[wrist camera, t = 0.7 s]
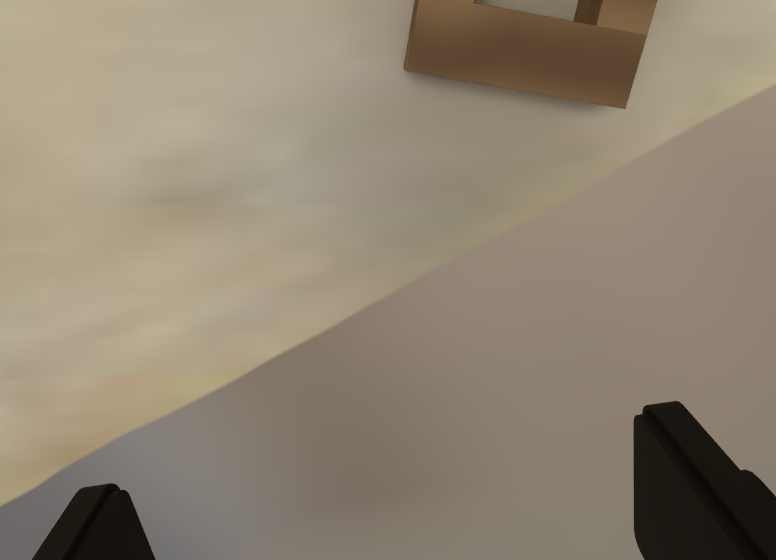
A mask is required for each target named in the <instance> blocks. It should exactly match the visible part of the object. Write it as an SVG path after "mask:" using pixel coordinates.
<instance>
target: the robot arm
mask: <svg viewBox="0 0 776 560" xmlns="http://www.w3.org/2000/svg"><path fill="white" fill-rule="evenodd" d="M634 533H635V538H636V542H637V544H638V547H639V550H640V552H641V554H642V555H643V557H644V559H645V560H776V497H775V495H774V494H773V493H772V492H771V491H770V490H769V489H768V488H767V486H766V485H765V484H764V483H763V482H762V481H761V480H760V479H759V478H758V477H757V476H756V475H755V474H753V473H752V472H750V471H748V470H740V469H739V468H738V467H737V466H736V465H735V464H734V463H733V461H732V460H731V459H730V458H729V457H728V456H727V455H726V453H725V452H724V451H723V450H722V449H721V448H720V447H719V445H718V444H717V443H716V442H715V441H714V440H713V439H712V437H711V436H710V435H709V434H708V433H707V432H706V431H705V430H704V428H703V427H702V426H701V425H700V424H699V423H698V421H697V420H696V419H695V418H694V417H693V416H692V415H691V413H689V411H688V410H687V409H686V408H685V407H684V405H683V404H681V403H680V402H678V401H673V402H666V403H659V404H652V405H646V406H644V408H643V413H642V414H641V415H636V416H635V418H634ZM32 560H155V557H154V555H153V552H152V550H151V547H150V545H149V542H148V540H147V537H146V535H145V532H144V530H143V527H142V525H141V522H140V520H139V517H138V515H137V512H136V510H135V507H134V505H133V503H132V500H131V497H130V496H129V493H128V492H127V491H126V490H120V488H119V487H118V486H117V485H116V484H112V483H111V484H104V485H98V486H91V487H84V488H82V489H80V490H79V491H78V492H77V493H76V494H75V496H74V497H73V498H72V500H71V501H70V503H69V505H68V506H67V508H66V509H65V511H64V512H63V514H62V515H61V517H60V518H59V520H58V521H57V523H56V524H55V526H54V527H53V529H52V530H51V532H50V533H49V535H48V536H47V538H46V539H45V541H44V542H43V544H42V545H41V547H40V548H39V550H38V551H37V553H36V554H35V556H34V557H33V559H32Z"/></svg>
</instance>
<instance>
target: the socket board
mask: <svg viewBox="0 0 776 560" xmlns="http://www.w3.org/2000/svg"><path fill="white" fill-rule="evenodd" d="M656 3H657V0H579V2H578V6H577V10H576V14H575V18H574V22H573V21H568V20H563V19H557V18H552V17H547V16H541V15H536V14H530V13H525V12H520V11H514V10H509V9H503V8H498V7H493V6H487V5H482V4H476V3H474V0H415V2H414V9H413V15H412V21H411V27H410V33H409V39H408V45H407V51H406V57H405V64H404V70H406V71H410V72H416V73H421V74H427V75H433V76H439V77H444V78H450V79H456V80H461V81H467V82H473V83H479V84H484V85H490V86H496V87H502V88H507V89H513V90H519V91H525V92H530V93H536V94H542V95H548V96H553V97H559V98H565V99H571V100H576V101H582V102H588V103H594V104H599V105H605V106H611V107H616V108H622V109H625V108H626V104H627V101H628V98H629V94H630V91H631V88H632V84H633V81H634V77H635V74H636V71H637V67H638V64H639V60H640V57H641V54H642V50H643V47H644V43H645V40H646V37H647V33H648V30H649V26H650V23H651V20H652V16H653V13H654V10H655V6H656Z"/></svg>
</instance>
